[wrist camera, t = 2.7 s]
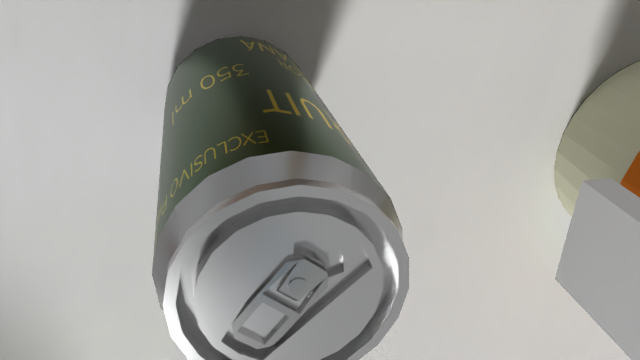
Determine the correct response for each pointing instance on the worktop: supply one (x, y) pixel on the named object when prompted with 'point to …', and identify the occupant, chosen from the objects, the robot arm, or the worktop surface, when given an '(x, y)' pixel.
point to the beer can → (269, 217)
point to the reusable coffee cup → (602, 138)
